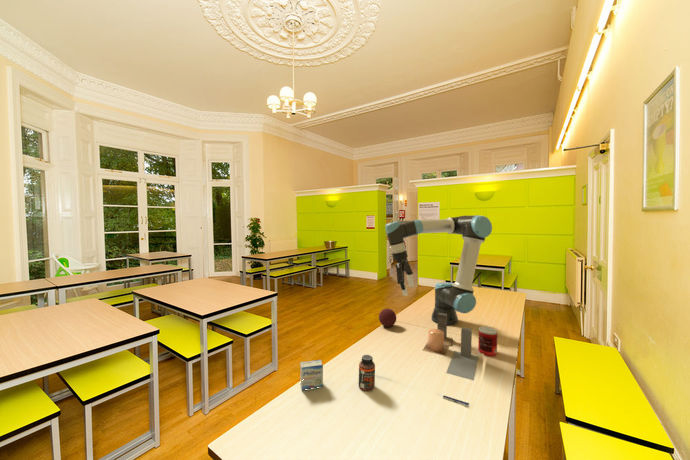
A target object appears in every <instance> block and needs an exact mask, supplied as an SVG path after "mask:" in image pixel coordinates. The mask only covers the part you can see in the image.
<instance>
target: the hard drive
mask: <svg viewBox="0 0 690 460" xmlns="http://www.w3.org/2000/svg"><path fill="white" fill-rule="evenodd" d="M442 399H443V400H445V401H449V402H450V403H451V402H452V403H454V404H457V405H460V406H463V407H466V408H469V405H470V403H469V402H466V401H463V400H460V399H457V398H453V397H450V396H447V395H443V396H442Z"/></svg>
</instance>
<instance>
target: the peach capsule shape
mask: <svg viewBox="0 0 690 460" xmlns="http://www.w3.org/2000/svg"><path fill="white" fill-rule="evenodd" d="M427 337H428V340H427V342H428V349H429V350H431V351H434V352H442V351H444V332H443V331H442V330H439V329H437V328H430V329H428V336H427Z"/></svg>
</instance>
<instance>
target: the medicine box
mask: <svg viewBox="0 0 690 460" xmlns="http://www.w3.org/2000/svg"><path fill="white" fill-rule="evenodd" d="M299 363H300V364H299V367H300V371H299V372H300V374H299V377H300V378H299V381H301V383H300V390H301V389H302V390H305V389H311V388H316V389H318V388H317V387H322V388H323V387H324V365H323V362H322V359H317V360H309V361H301V362H299ZM303 379H304V380H303ZM302 380H303V381H302ZM302 390H301V391H302ZM311 390H312V389H311ZM305 391H306V390H305Z"/></svg>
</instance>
